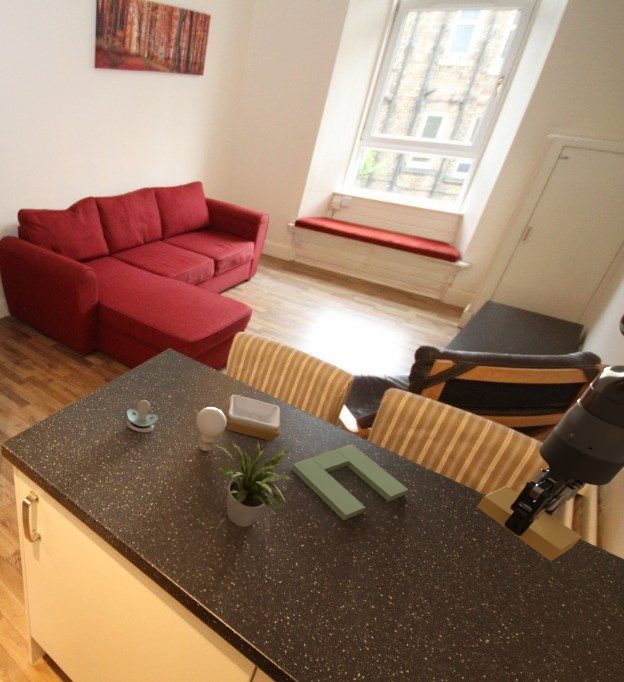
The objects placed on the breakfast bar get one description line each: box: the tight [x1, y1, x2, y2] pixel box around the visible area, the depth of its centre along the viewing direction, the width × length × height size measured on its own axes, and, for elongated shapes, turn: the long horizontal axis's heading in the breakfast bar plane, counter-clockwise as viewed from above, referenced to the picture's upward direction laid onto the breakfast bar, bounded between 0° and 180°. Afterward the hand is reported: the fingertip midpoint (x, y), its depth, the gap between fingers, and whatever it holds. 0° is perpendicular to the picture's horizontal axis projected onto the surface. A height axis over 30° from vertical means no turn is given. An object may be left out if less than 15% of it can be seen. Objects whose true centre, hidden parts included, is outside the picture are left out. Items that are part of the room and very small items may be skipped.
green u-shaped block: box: [290, 444, 409, 521], centre depth 93 cm, size 18×14×2 cm
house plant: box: [211, 440, 294, 528], centre depth 80 cm, size 14×14×16 cm
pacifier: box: [126, 399, 159, 433], centre depth 103 cm, size 7×6×6 cm
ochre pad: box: [476, 485, 582, 562], centre depth 67 cm, size 6×10×2 cm, turn 25°
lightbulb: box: [195, 406, 227, 452], centre depth 96 cm, size 6×6×11 cm
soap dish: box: [224, 394, 281, 442], centre depth 106 cm, size 12×10×5 cm
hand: (524, 523), depth 68 cm, fingers closed on ochre pad, 6 cm apart
